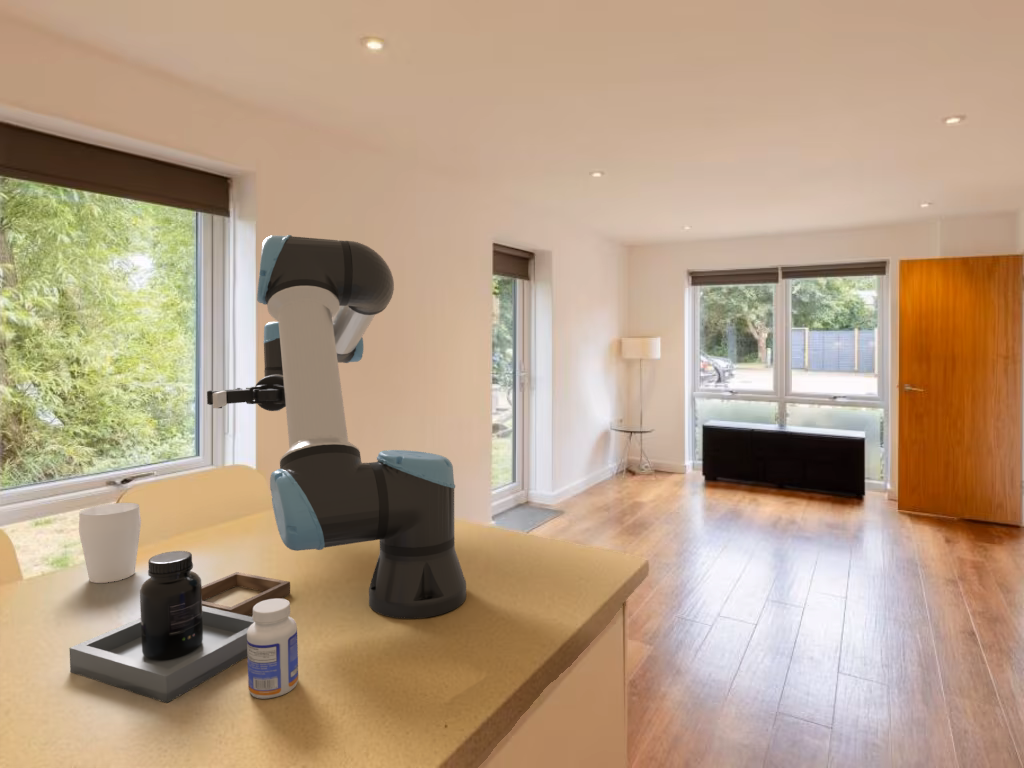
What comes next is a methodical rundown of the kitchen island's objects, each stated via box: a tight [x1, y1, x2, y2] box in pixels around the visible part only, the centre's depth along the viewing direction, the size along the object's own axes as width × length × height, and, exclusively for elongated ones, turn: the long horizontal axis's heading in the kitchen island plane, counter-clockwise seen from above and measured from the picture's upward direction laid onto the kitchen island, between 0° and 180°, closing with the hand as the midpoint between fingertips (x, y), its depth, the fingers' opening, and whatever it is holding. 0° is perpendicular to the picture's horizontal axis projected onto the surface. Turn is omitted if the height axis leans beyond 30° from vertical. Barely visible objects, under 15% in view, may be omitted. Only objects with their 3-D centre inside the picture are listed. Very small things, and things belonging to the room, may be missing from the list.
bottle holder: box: [202, 571, 291, 616], centre depth 93 cm, size 12×12×2 cm
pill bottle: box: [247, 598, 299, 700], centre depth 69 cm, size 5×5×10 cm
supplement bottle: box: [139, 550, 203, 661], centre depth 76 cm, size 7×7×12 cm
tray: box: [68, 606, 254, 704], centre depth 76 cm, size 17×15×3 cm
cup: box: [78, 502, 142, 584], centre depth 104 cm, size 9×9×12 cm
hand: (255, 399), depth 108 cm, fingers open, 13 cm apart
